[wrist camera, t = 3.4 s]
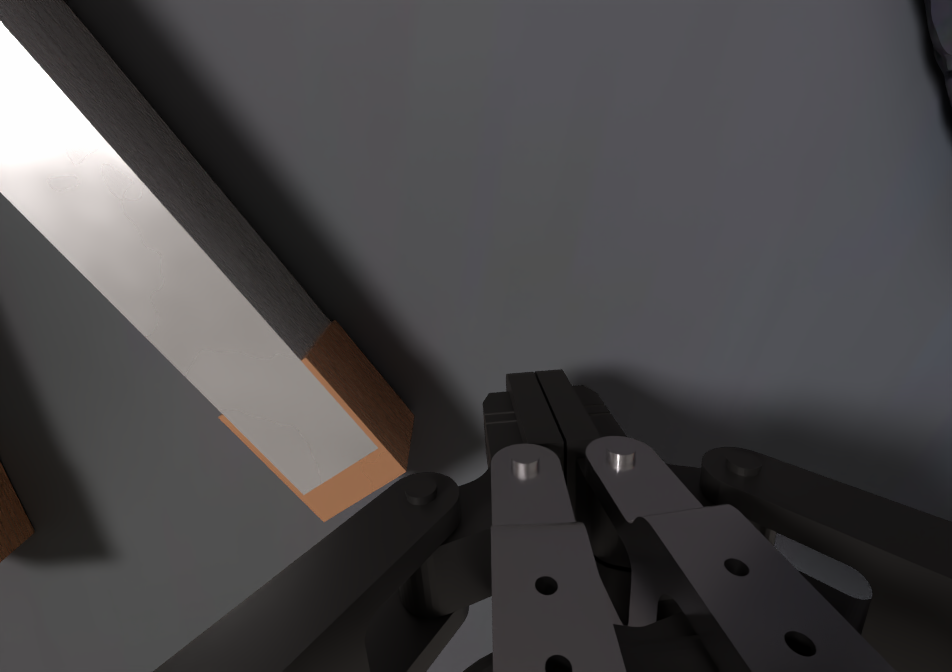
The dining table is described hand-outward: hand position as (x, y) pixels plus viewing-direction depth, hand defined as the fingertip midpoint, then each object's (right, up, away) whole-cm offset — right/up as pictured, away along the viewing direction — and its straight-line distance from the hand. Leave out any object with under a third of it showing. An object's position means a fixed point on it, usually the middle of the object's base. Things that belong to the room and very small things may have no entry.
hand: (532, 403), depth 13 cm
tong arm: (-10, +6, 0) cm, 12 cm away
